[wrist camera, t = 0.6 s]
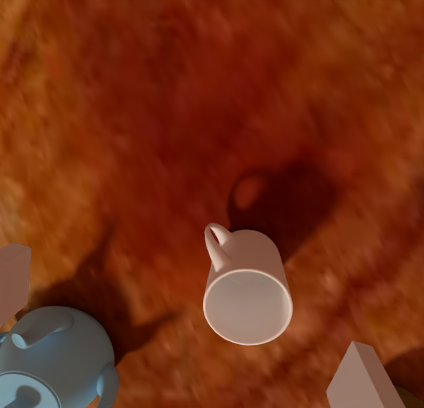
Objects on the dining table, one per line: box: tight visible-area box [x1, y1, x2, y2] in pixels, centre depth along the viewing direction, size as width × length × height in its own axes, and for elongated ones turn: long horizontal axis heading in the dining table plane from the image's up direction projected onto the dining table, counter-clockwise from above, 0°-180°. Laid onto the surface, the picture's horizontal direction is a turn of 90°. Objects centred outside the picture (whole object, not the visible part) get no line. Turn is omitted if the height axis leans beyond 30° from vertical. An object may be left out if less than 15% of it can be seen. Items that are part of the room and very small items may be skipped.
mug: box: [203, 223, 293, 345], centre depth 33 cm, size 9×12×11 cm
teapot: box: [0, 306, 119, 408], centre depth 39 cm, size 17×19×12 cm
